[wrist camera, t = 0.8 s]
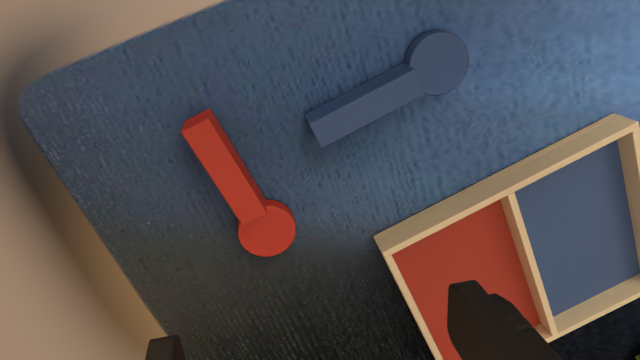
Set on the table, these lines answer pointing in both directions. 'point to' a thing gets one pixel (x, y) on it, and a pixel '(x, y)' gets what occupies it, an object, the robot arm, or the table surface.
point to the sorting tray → (531, 237)
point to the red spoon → (240, 188)
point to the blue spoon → (394, 87)
